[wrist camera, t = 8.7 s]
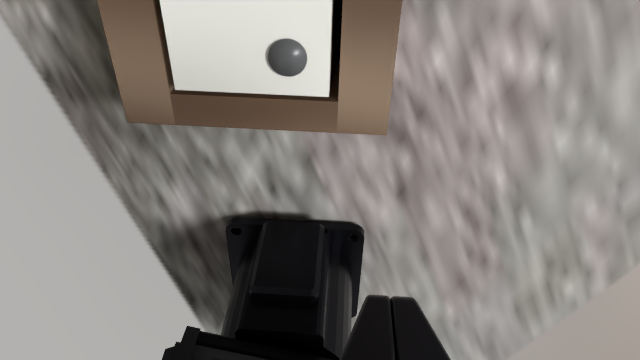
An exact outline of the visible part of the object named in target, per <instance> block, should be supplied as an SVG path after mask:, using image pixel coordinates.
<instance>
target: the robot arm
mask: <svg viewBox="0 0 640 360" xmlns="http://www.w3.org/2000/svg"><path fill="white" fill-rule="evenodd" d="M234 227H237V228H239V229H235V228H234ZM351 234H356V236H351ZM226 236H227V244H228V252H229V259H230V267H231V274H232V282H233V289H232V293H231V297H230V301H229V305H228V309H227V313H226V317H225V321H224V324H223V328H222V332H221V335H217V334H212V333H207V332H202V331H200V329H199V328H194V327H190V326H187V327H186V330H185V333H184V335H183V338H182V341H181V343H180V342H176V344H175V346H174V347H171V348H168V349H165V352H164V355H163V358H162V360H451V359H450V358H449V356H448V354H447V353H446V351H445V349H444V348H443V346H442V344H441V342H440V341H439V339H438V337H437V336H436V334H435V332H434V330H433V329H432V327H431V325H430V324H429V322H428V320H427V318H426V317H425V315H424V313H423V312H422V310H421V308H420V307H419V305H418V303H417V302H416V300H415V299H414V298H411V297H399V296H394V297H392V298H391V299H390V298H389V297H388V296H383V295H368V296H367V297H366V298H365V301H364V303H363V305H362V308H361V310H360V312H359V315H358V317H357V320H356V322H355V324H354V327H353V329H352V331H351V318H352V317H354V316H356V314H357V306H358V296H359V285H360V275H361V265H362V255H363V244H364V230H363V228H362V227H361V226H359V225H355V224H341V223H323V222H305V221H288V220H270V219H252V218H232V219H230V220H229V221H228V223H227V227H226Z"/></svg>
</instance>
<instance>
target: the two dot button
mask: <svg viewBox="0 0 640 360" xmlns="http://www.w3.org/2000/svg"><path fill="white" fill-rule="evenodd" d="M334 4H335V0H160V6H161V11H162V17H163V23H164V29H165V34H166V40H167V46H168V52H169V57H170V63H171V69H172V75H173V80H174V86H175V90H188V91H210V92H231V93H253V94H274V95H296V96H317V97H329V92H330V82H331V72H332V62H333V33H334Z"/></svg>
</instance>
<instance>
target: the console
mask: <svg viewBox="0 0 640 360" xmlns="http://www.w3.org/2000/svg"><path fill="white" fill-rule="evenodd" d="M97 3H98V7H99V11H100V15H101V19H102V23H103V27H104V31H105V35H106V39H107V43H108V47H109V51H110V55H111V59H112V63H113V67H114V71H115V75H116V79H117V83H118V87H119V91H120V95H121V99H122V103H123V107H124V111H125V115H126V119H127V123H147V124H168V125H188V126H208V127H228V128H249V129H269V130H289V131H309V132H330V133H350V134H370V135H387V128H388V119H389V110H390V102H391V93H392V84H393V76H394V67H395V58H396V49H397V41H398V32H399V23H400V15H401V6H402V0H343V5H342V27H341V50H340V63H337V62H332V72H331V82H330V92H329V97H317V96H296V95H274V94H253V93H231V92H210V91H188V90H175V86H174V80H173V75H172V69H171V63H170V57H169V52H168V46H167V40H166V34H165V29H164V23H163V17H162V11H161V6H160V0H97Z"/></svg>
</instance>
